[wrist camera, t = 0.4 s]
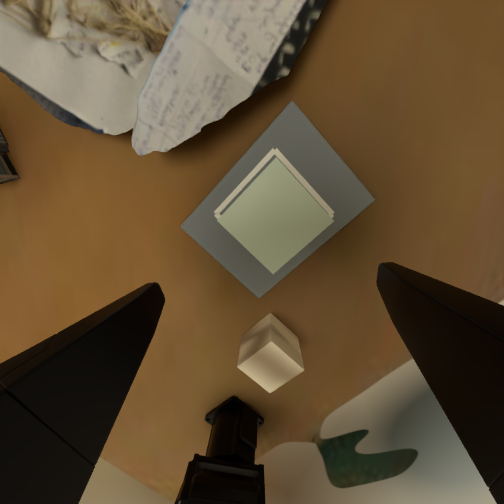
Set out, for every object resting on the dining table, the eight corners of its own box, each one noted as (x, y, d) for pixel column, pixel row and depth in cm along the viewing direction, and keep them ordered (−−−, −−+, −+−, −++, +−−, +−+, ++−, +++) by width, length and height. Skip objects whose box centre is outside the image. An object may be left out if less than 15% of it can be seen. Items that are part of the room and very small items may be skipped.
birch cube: (269, 357, 28) (269, 393, 24) (242, 334, 28) (237, 366, 23) (297, 337, 27) (304, 370, 22) (270, 312, 26) (271, 341, 21)
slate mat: (258, 296, 25) (258, 299, 25) (181, 226, 23) (179, 226, 23) (373, 199, 21) (375, 199, 21) (291, 101, 19) (292, 99, 19)
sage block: (271, 259, 23) (273, 274, 20) (225, 213, 22) (216, 220, 18) (322, 214, 22) (334, 221, 18) (274, 161, 20) (276, 157, 17)
